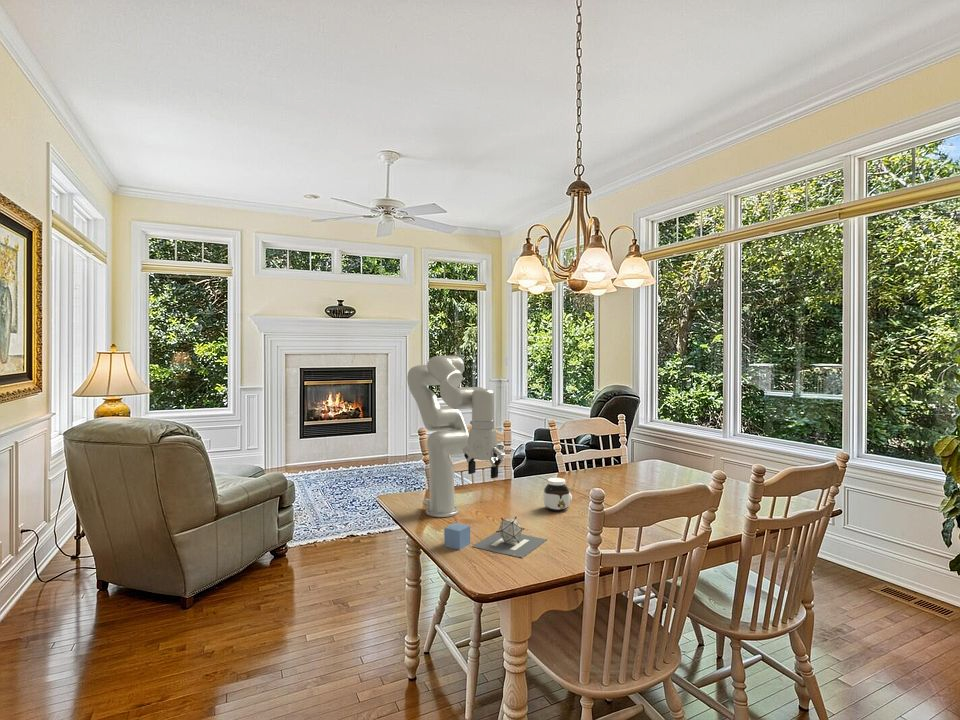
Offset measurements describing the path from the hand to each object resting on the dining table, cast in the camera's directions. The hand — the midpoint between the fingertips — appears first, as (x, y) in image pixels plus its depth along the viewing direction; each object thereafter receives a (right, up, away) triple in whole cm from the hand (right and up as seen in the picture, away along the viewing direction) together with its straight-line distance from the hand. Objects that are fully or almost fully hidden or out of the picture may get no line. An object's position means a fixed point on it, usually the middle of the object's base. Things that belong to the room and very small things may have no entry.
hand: (482, 475), depth 180 cm
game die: (+9, -20, -8) cm, 24 cm away
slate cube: (-8, -21, -9) cm, 24 cm away
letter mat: (+9, -20, -8) cm, 24 cm away
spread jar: (+30, -20, +30) cm, 47 cm away
